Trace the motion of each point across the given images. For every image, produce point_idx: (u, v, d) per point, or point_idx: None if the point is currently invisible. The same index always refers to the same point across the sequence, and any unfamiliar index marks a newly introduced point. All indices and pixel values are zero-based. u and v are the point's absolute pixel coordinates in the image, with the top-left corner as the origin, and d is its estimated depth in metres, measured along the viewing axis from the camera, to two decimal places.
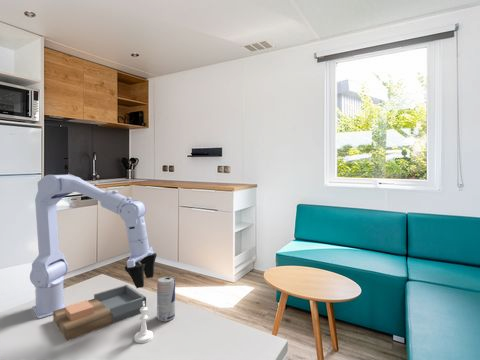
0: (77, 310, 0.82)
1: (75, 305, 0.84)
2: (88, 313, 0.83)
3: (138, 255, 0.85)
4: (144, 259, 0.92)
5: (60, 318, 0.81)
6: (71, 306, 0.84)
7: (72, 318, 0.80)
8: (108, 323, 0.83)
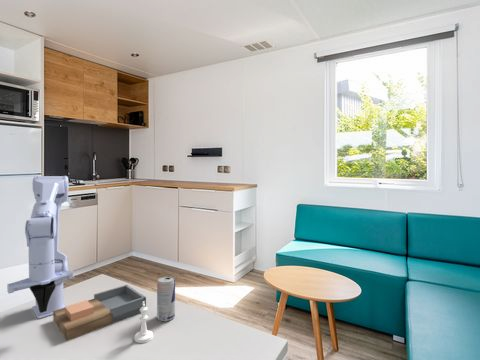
0: (77, 310, 0.82)
1: (75, 305, 0.84)
2: (88, 313, 0.83)
3: (29, 280, 0.74)
4: (42, 287, 0.78)
5: (60, 318, 0.81)
6: (71, 306, 0.84)
7: (72, 318, 0.80)
8: (108, 323, 0.83)
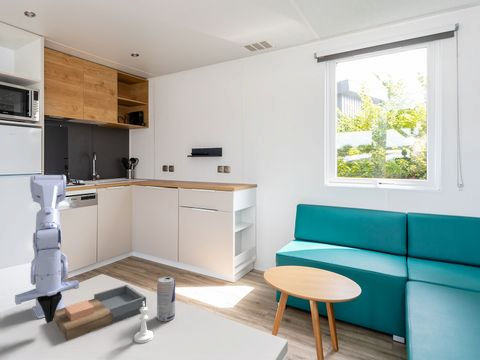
0: (77, 310, 0.82)
1: (75, 305, 0.84)
2: (88, 313, 0.83)
3: (36, 291, 0.75)
4: None
5: (60, 318, 0.81)
6: (71, 306, 0.84)
7: (72, 318, 0.80)
8: (108, 323, 0.83)
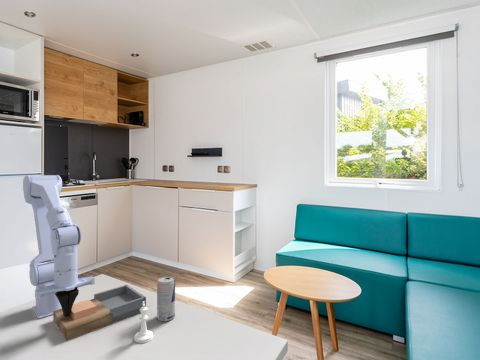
0: (80, 309, 0.82)
1: (78, 304, 0.85)
2: (91, 312, 0.83)
3: (55, 286, 0.79)
4: None
5: (60, 318, 0.81)
6: (74, 305, 0.84)
7: (75, 317, 0.80)
8: (108, 323, 0.83)
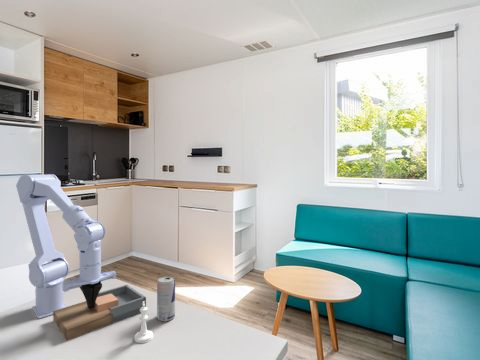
0: (103, 302, 0.87)
1: (101, 297, 0.90)
2: (113, 305, 0.88)
3: (81, 280, 0.83)
4: None
5: (60, 318, 0.81)
6: (97, 298, 0.89)
7: (99, 309, 0.85)
8: (108, 323, 0.83)
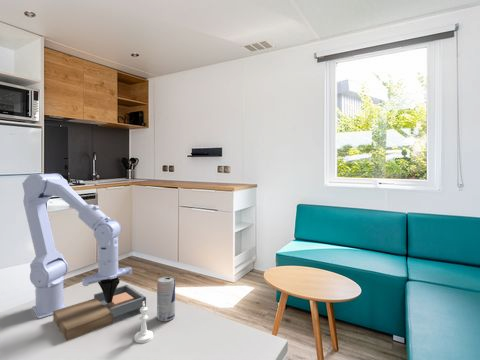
0: (119, 300, 0.90)
1: (116, 296, 0.93)
2: None
3: (99, 275, 0.87)
4: None
5: (60, 318, 0.81)
6: (113, 297, 0.93)
7: None
8: (108, 323, 0.83)
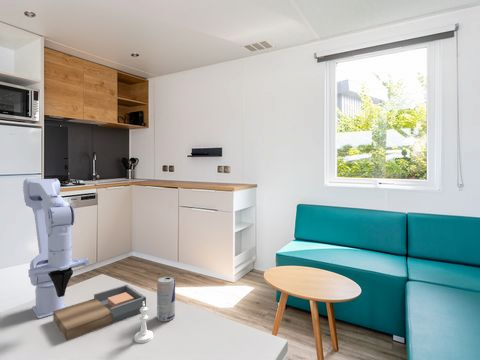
0: (119, 300, 0.90)
1: (116, 296, 0.93)
2: None
3: (49, 266, 0.78)
4: None
5: (60, 318, 0.81)
6: (113, 297, 0.93)
7: None
8: (108, 323, 0.83)
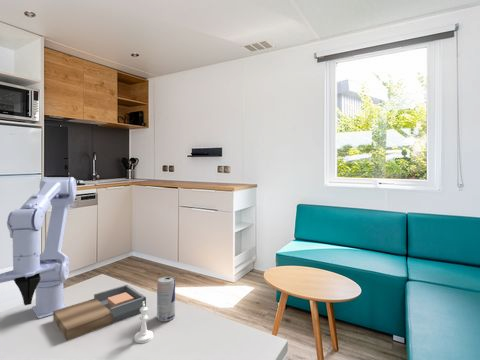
0: (119, 300, 0.90)
1: (116, 296, 0.93)
2: None
3: (13, 272, 0.73)
4: (27, 280, 0.77)
5: (60, 318, 0.81)
6: (113, 297, 0.93)
7: None
8: (108, 323, 0.83)
